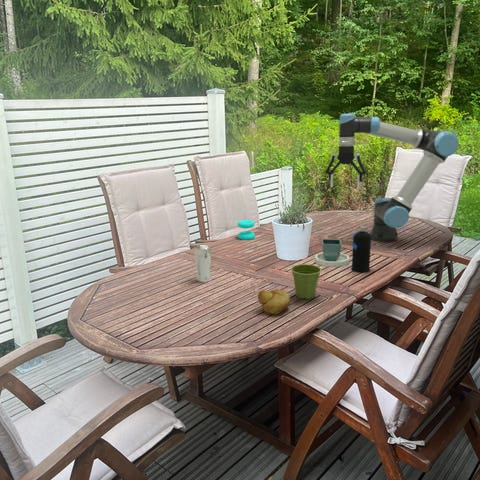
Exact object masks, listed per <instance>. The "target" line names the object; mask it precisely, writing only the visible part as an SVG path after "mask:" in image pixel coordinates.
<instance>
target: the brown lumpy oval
mask: <svg viewBox="0 0 480 480" xmlns="http://www.w3.org/2000/svg"><path fill="white" fill-rule="evenodd" d="M257 300H258V302H259V304H260V305H261V307H262V310H263V311H264V312H266V313H267V314H269V315H270V314H271V315H277V314H280V313H282V312H284V311H286V310H287V309H288V308H289V306H290V304H291V297H290V295H289V294H288V293H287V292H286V291H285V290H283V289H280V288H279V289H272V290H270V291H268V290H264V289H263V290H260V291H259V292H258V294H257Z"/></svg>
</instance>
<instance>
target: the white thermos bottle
mask: <svg viewBox="0 0 480 480" xmlns="http://www.w3.org/2000/svg"><path fill="white" fill-rule="evenodd" d="M211 260H212V253H211V246H210V245H207V244H200V245H196V246H195V247H194V262H195V266H196V270H197V276H196V277H197V278H196V281H197V282H199V283H207V282H210V281H211V280H212V278H211V271H210V269H211Z"/></svg>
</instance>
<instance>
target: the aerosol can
mask: <svg viewBox="0 0 480 480" xmlns="http://www.w3.org/2000/svg"><path fill="white" fill-rule="evenodd" d="M371 238H372V236H371V235H370V232H367V231H366V227H365V226H362V225H361V226H360V229H359V231H357V232H355V233H354V234H353V235H352V254H351V255H352V256H351V257H352V260H351V267H350V269H351V271H352V272H355V273H362V274H363V273H368V272H369V271H371V269H370V265H371V262H370V261H371V246H372V239H371Z"/></svg>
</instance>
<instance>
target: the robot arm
mask: <svg viewBox="0 0 480 480" xmlns="http://www.w3.org/2000/svg"><path fill="white" fill-rule="evenodd" d="M338 124H339V125H338V126H339V130H338V131H339V132H338V134H339V136H338V145H339V146H338V155H336V154H333V155H332V156H331V159H330V162H329V164H328V166H327V167H326V169H325V174H328V181H330V188H333V187H334V174H333V173H334V172H335V170H336V169H337V168H338V167H339V166H340V165H351V166H352V167H353V168H354V170H355V171H356V172H357V174H358V175H357V185H356V186H357V189H360V186H361V185H360V184H361V182H362V181H363V175H366V174H367V171H366V169H365V166H364V164H363V162H362V160H361V155H360V154H358V155H355V146H354V145H355V134H366V135H371V136H375V137H380V138H384V139H387V140H391V141H396V142H399V143H402V144H403V143H404V144H408V145H412V146H413V148H416V149H420V150H422V153H423V156H422V157H421V159H420V161H419V162H418V163H417V165H416V167H415V168H414V169H413V170H412V172H411V173H410V176H408V178H407V179H406V181H405V182H404V184H403V186H402V187H401V189H399V192H398V193H397V194H396V195H395V196H391V197H378V198H375V200H374V210H373V211H374V212H373V224H372V227H371V231H369V234H370V235H371V236H372V238H371V241H376V242H381V243H382V242H383V243H390V242H396V241H397V240H398V238H399V235H398V231H397V229H399V228H402V227H404V226H405V225H406V224H407V223H408V221H409V218H410V215H409V214H410V212H411V211H412V210H413V207H412V205H413V203H414V201H415V199H416V198H417V197H418V195H419V194H420V192H421V191H422V190H423V188H424V187H425V185H426V183H427V182H428V181H429V179H430V178H431V176H432V175H433V174H434V172H435V171H436V169H437V168H438V166H439V165H440V164H444V163H445V161H446V160H447V159H448V157H450V156H452V155H454V154H455V153H456V152H457V151H458V148H459V139H458V136H457V135H456V134H455V133H454V132H450V131H448V130H426V129H423V128H419V129H417V130H416V129H412V128H410V127H409V128H407V127H404V126H399V125H397V124H396V125H395V124H392V123H387V122H383V121H381V119H380V118H379V117H377V116H368V117H367V116H365V117H364V116H363V117H362V116H358V117H357V116H356V114H355V113H341V114H340V115H339V123H338ZM337 159H338V162H337V163H336V164H335V165H334V167H333V164H334V163H335V161H336V160H337ZM354 159H355V160H356V162H357V163H358V166H359V167H358V166H357V164H356V163H355V162H354ZM330 169H331V170H330Z"/></svg>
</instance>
